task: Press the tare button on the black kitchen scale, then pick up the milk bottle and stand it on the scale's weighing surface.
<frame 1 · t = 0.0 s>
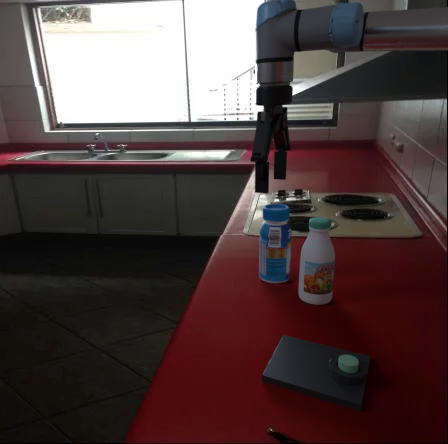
hand: (271, 185, 92), 29 cm above the counter, tool pointing down, fingers open, 13 cm apart
tare button: (348, 363, 72), point 3 cm above the counter, slide at 0.1 cm
beverage bottle: (274, 278, 113), on the counter
milk bottle: (314, 298, 101), on the counter
scale: (317, 371, 76), on the counter
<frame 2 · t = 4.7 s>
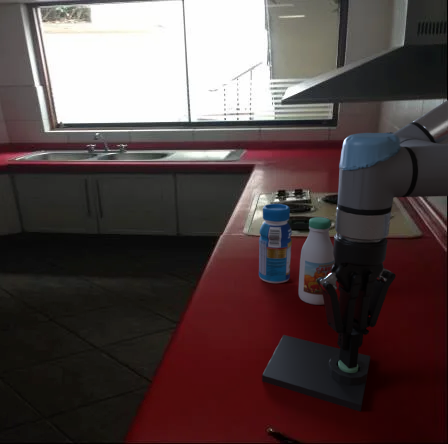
hand: (347, 362, 72), 4 cm above the counter, tool pointing down, fingers closed
tare button: (347, 367, 72), point 3 cm above the counter, slide at -0.7 cm, touching gripper
everything else where it was.
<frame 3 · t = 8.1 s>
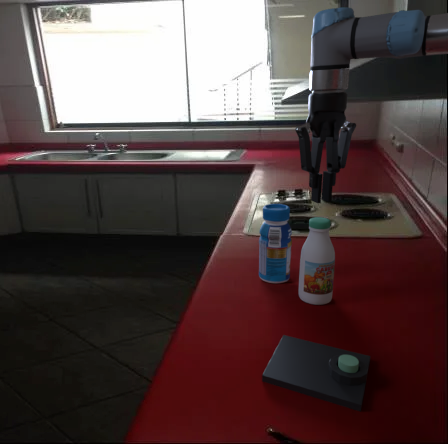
hand: (321, 200, 94), 24 cm above the counter, tool pointing down, fingers open, 2 cm apart
tare button: (348, 363, 72), point 3 cm above the counter, slide at 0.1 cm
everything else where it was.
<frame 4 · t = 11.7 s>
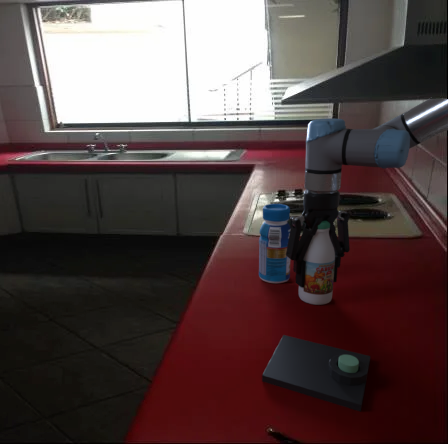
hand: (315, 282, 100), 4 cm above the counter, tool pointing down, fingers closed on milk bottle, 8 cm apart
milk bottle: (314, 298, 101), on the counter, touching gripper
everything else where it was.
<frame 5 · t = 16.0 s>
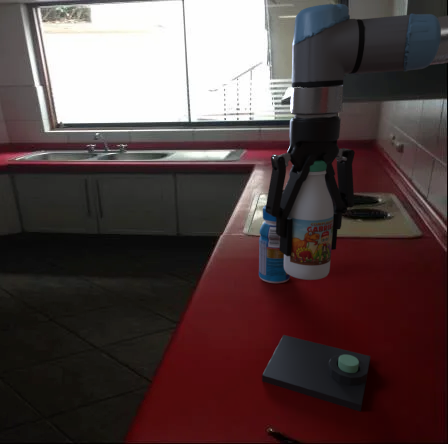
hand: (307, 249, 73), 22 cm above the counter, tool pointing down, fingers closed on milk bottle, 8 cm apart
milk bottle: (306, 272, 74), point 18 cm above the counter, touching gripper
everything else where it was.
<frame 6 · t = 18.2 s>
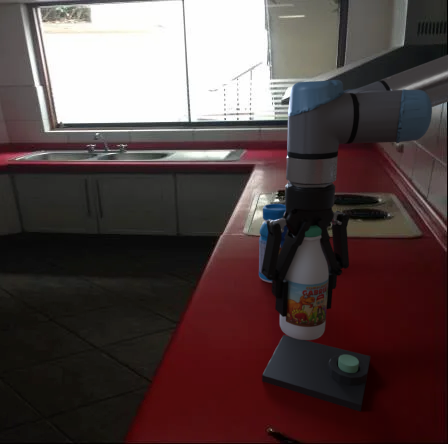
hand: (303, 308, 74), 12 cm above the counter, tool pointing down, fingers closed on milk bottle, 8 cm apart
milk bottle: (301, 330, 75), point 8 cm above the counter, touching gripper
everything else where it was.
when the fingers open (6 cm above the counter, at t = 20.4 s): milk bottle stays where it is, resting on scale.
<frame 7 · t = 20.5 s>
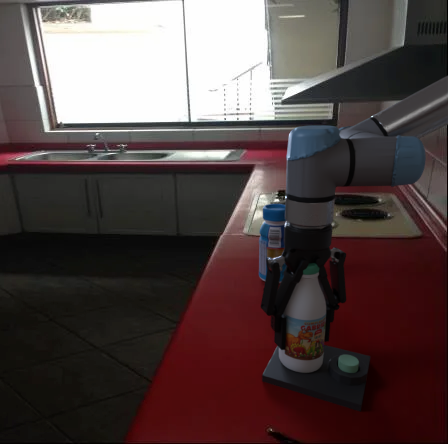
hand: (301, 341, 76), 6 cm above the counter, tool pointing down, fingers open, 8 cm apart
milk bottle: (300, 361, 77), point 1 cm above the counter, touching scale
everything else where it was.
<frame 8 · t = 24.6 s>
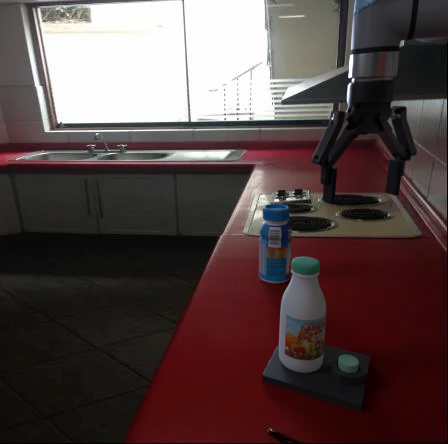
hand: (360, 197, 79), 29 cm above the counter, tool pointing down, fingers open, 13 cm apart
nothing on the counter moved.
at the end: tare button pushed in 0.8 cm at the most during the clip, back to where it started at the end; milk bottle inside the target area on the scale (0.2 cm from its centre), point 1.2 cm above the scale's base; milk bottle touching scale; milk bottle tilted 0° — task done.
